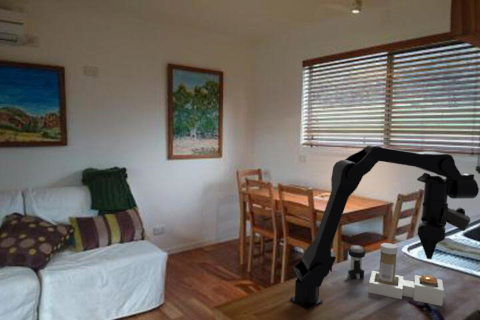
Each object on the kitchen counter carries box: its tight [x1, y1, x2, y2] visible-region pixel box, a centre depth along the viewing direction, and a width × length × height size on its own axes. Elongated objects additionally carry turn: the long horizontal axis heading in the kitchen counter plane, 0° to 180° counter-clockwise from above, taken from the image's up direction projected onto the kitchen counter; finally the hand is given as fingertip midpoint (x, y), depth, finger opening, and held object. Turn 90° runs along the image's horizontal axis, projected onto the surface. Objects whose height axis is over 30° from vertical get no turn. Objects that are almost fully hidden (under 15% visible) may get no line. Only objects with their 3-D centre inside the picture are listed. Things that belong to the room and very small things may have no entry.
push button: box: [343, 244, 367, 281], centre depth 115 cm, size 7×5×10 cm
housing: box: [368, 270, 445, 307], centre depth 107 cm, size 19×9×4 cm, turn 65°
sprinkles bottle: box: [378, 242, 398, 285], centre depth 108 cm, size 5×5×13 cm
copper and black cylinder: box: [420, 274, 438, 287], centre depth 104 cm, size 4×4×6 cm
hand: (430, 253), depth 103 cm, fingers open, 9 cm apart
